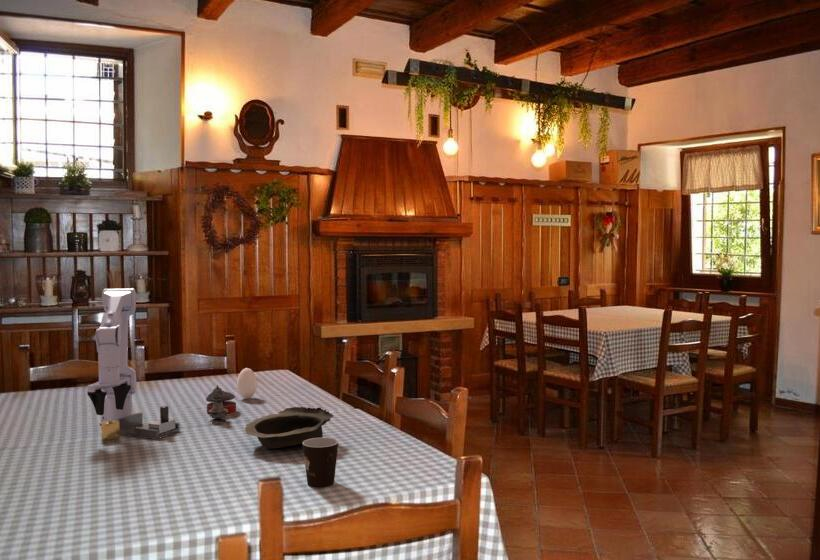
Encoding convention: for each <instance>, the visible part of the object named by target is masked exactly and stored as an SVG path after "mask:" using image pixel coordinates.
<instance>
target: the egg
mask: <svg viewBox="0 0 820 560" xmlns="http://www.w3.org/2000/svg"><path fill="white" fill-rule="evenodd" d="M257 389H258V381H257V377H256V374H255V373H254V370H252V369H251V368H248V367H245V368H243V369H242V370H241V371H240V373H239V374H238V377H237V380H236V390H237V392H238V394H239V396H241V398H242V399H245V400H249V399H251V398H253V396H254V395H255V394H256V392H257Z"/></svg>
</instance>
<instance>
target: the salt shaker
mask: <svg viewBox="0 0 820 560" xmlns="http://www.w3.org/2000/svg"><path fill="white" fill-rule="evenodd" d="M222 391H223V389H222V388H221V387H219V385H218V384H217V385H216V387H215V388H214V389H213V391H212V392H213V399H212V400H213V408H212V409H211V410H209V412H210V415H209V416H210V417H211V418H212V419H210V420H209V423H211V422H212V424H221V423H220V422H222V423H225V422H226V421H227V419H226V418H224V417H225V416H226V415H225V414H226V411H227V409H224V408H223V405H222V400H223V398H222Z"/></svg>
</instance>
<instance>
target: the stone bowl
mask: <svg viewBox="0 0 820 560" xmlns="http://www.w3.org/2000/svg"><path fill="white" fill-rule="evenodd" d="M332 418H334V414H332V413H330V412H329V411H327V410H326V409H323V408H322V407H316V408H315V407H314V408H313V407H309V406H308V407H303V406H293V407H287V408H285V409H284V410H281V411H279V412H278V413H271V414H268V415H265V416H262V417H259V418H256V419H254V420H252V421H250V422H249V423H247V424H246V425H245V428H244V432H245V433H246V434H247V435H249V436H252V437H256V438H257V440H258V441H259V443H260V444H261V446H262V447H263V448H264V449H266V450H270V449H280V448H284V447H289V446H296V445H300V444H302V443H303V441H305V440H308V439H312V438H324V437H323V436H324V435H323V434H324V433H323V425H326V424H327V423H328V422H330V421H331V419H332Z"/></svg>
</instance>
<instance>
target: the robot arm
mask: <svg viewBox="0 0 820 560" xmlns="http://www.w3.org/2000/svg"><path fill="white" fill-rule="evenodd" d="M136 292H137V291H136V289H135V288H134V287H131V288H130V287H129V288H104V289H103V290H102V292H101V302H102V306H103V310H104V312H105V313H104V314H103V315H102V316H101V317H102V318H101V320H100V321H101V322H100V325H99V328H96V330H95V334H94V335H95V336H94V337H95V343H96V353H98V354H97V356H98V357H97V358H98V363H97V364H98V381H96V382H95V383H92V384H88V385H87V386H86V387H87V391H86V393H87V396H88V398H89V399H90V400H91V403H92V405H93V408H94V411H95V415H97V416H100V421H99V422H98V425H101V423H102V422H106V421H108V419H112V421H115V419H119V418H122V417H126V416H129V415H132V414H133V395H135V394H136V392H137V383H138V382H137V373H136V371H135V369H134V368H132V367H130V366H129V365H128V346H129V345H128V342H129V341H128V340H129V339H128V337H129V334H128V333H129V332H128V331H129V320H130V317H131V316H132V315H135V313H136V307H137V305H136V303H137V293H136Z"/></svg>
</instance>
